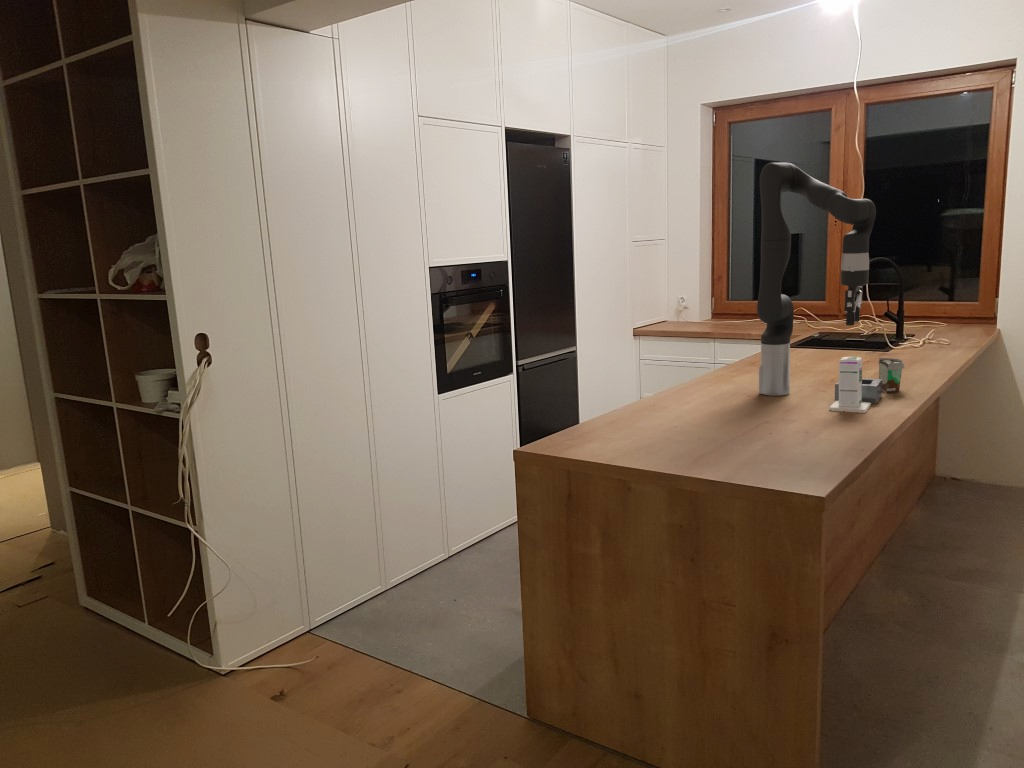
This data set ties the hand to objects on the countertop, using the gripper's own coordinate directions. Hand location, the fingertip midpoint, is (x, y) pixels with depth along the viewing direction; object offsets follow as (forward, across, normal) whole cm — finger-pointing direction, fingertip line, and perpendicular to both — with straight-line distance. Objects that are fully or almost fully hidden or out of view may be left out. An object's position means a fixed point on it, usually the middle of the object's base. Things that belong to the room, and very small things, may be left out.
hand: (852, 323), depth 227 cm
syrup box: (+25, 0, 0) cm, 25 cm away
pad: (+26, 0, 0) cm, 26 cm away
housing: (+26, -15, 0) cm, 30 cm away
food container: (+26, -31, +8) cm, 41 cm away
